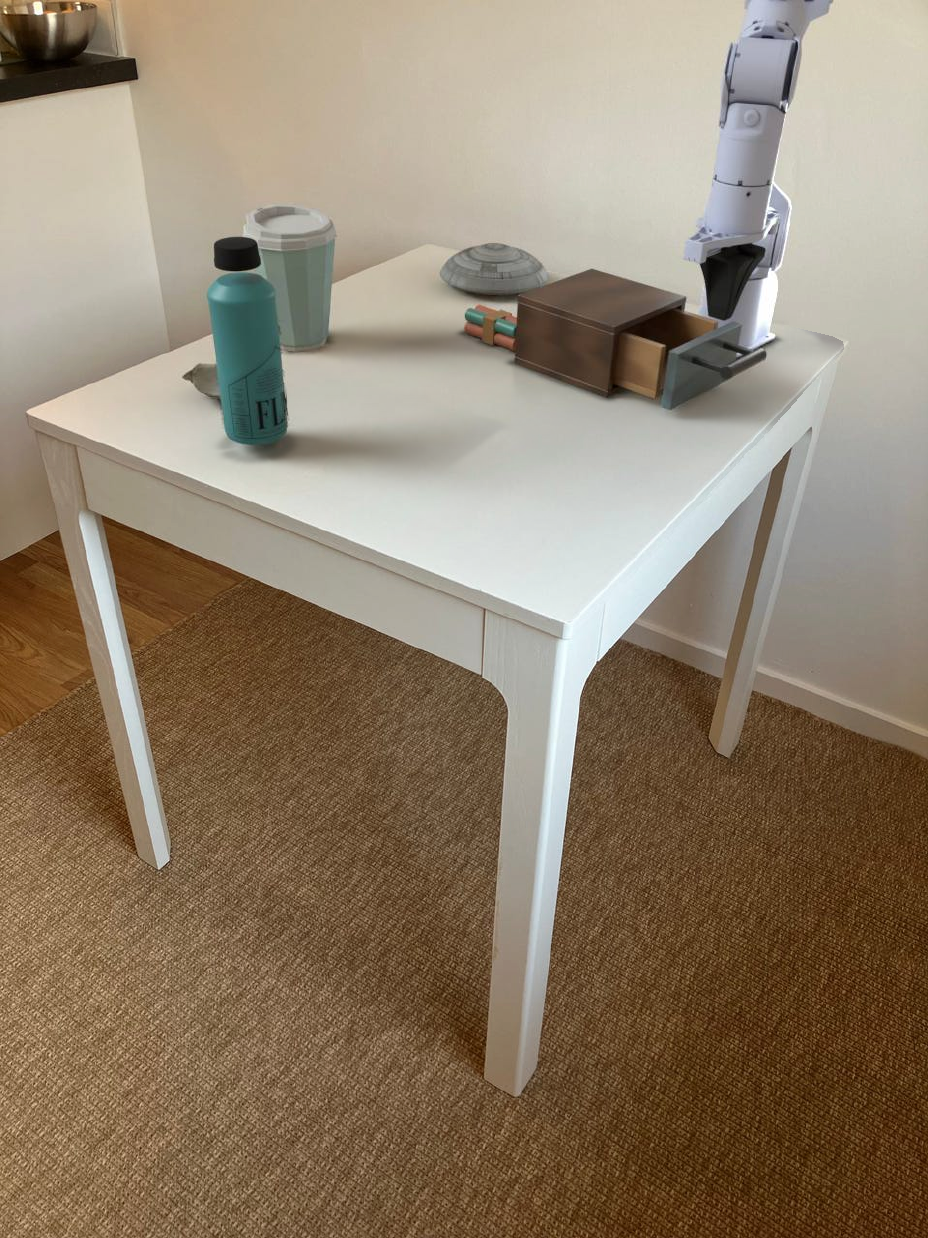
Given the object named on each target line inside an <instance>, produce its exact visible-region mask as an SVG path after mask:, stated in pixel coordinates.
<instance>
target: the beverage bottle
mask: <svg viewBox="0 0 928 1238" xmlns="http://www.w3.org/2000/svg"><path fill="white" fill-rule="evenodd" d="M213 255H214V256H213V264H214V267H215V268H216V269H218V270H220V271H224V272H230V273H226V274H223V275H220V276H219V277H218V278H217V279H215V280H214V281H213V282H212V284H211V285H210V286H209V288H208V289H207V291H206V299H207V303H208V309H209V317H210V324H211V333H212V339H213V347H214V356H215V363H214V364H215V365H216V364H217V375H218V382H219V389H218V391H219V390H220V397H219V398H218V400H220V402H219V409H220V410H219V411H220V415H221V416H220V417H221V422H222V424H223V429H224V432H225V434H226V436H227V438H228V439H229V440H231V441H233V442H234V443H237V444H241V445H246V446H259V445H260V446H261V445H266V444H270V443H274V442H277V441H279V440H281V439H282V438H284V436H285V435H286V434H287V431H288V427H289V425H290V424H289V422H290V418H289V411H288V396H287V390H285V389H286V387H287V385H285V383H286V382H285V381H284V377H285V370H284V369H283V360H282V354H283V353H284V352H283V351H284V350H282V349H281V348H280V346H281V345H282V344H281V345H280V337H279V336H280V335H279V333H280V332H279V330H281V329H280V326H278V319H277V309H276V300H275V295H276V291H275V288H274V287H273V285H272V284H271V283H269V282H268V281H267V280H266V279H265V278H263V277H262V276H260V275H258V274H255V272H254V273H253V272H248V271H251V270H254V269H255V268H257V267H259V266H260V265H261V258H260V255H259V249H258V244H257V241H256V240H254V239H251V238H247V237H243V236H229V237H223V238H220V239H217V240H216V241H215V242H214V243H213ZM278 318H279V317H278ZM279 322H280V321H279ZM280 334H281V333H280ZM281 342H282V341H281ZM281 347H282V346H281ZM215 373H216V372H215ZM218 382H217V383H218ZM217 386H218V385H217ZM218 394H219V393H218ZM220 398H221V399H220Z"/></svg>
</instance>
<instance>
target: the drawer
mask: <svg viewBox="0 0 928 1238" xmlns="http://www.w3.org/2000/svg"><path fill="white" fill-rule="evenodd" d="M718 323H719V321H716V320H713V319H709V318H706V317H703V316H700V315H699V314H696V313H693V312H689V311H686V310H684V311H683V310H680V309H677V308H674V309H671V310H669V311H667V312H664V313H662V314H660V315H657V316H655V317H653V318H650V319H648V320H645V321H643V322H641V323H638V324H636V325H634V326H631V327H629V328H627V329H624V330H622V331H620V332H618V339H617V348H616V357H615V366H614V375H613V384H615V385H618V386H621V387H624V388H626V389H627V390H629V391H632V392H635V393H638V394H640V395H643V396H646V397H649V398H650V399H653V400H656V399H657V398H660V397H661V396H662V399H661V404H660V405H661V407H660V408H662V409H664V410H667V411H673V410H674V409H676V408H678V407H679V406H682V405H683V404H685V403H688V402H689V401H692V400H693V399H695V398H697V397H699V396H700V395H703V394H704V393H706V392H708V391H710V390H712V389H714V388H715V387H718V386H720V385H721V384H723V383H725V382H727V381H729V380H731V379H733V378H734V377H735V376H737V375H739V374H741V373H743V372H745V371H746V370H749V369H750V368H752V367H754V366H756V365H758V364H759V363H762V362H764V361H765V360H766V359H767V357H768V356H767V351H766V350H765V349H764V348H762V347H757V348H755V349H753V350H751V349H748V348H744V347H741V346H738V344H739V338H740V333H741V327H742V324H741V323H737V322H734V321H732V322H730V323H728V324H726V325H724V326H722V327H719V328H718ZM737 353H740V354H743V355H741V356H740V357H738V358H736V355H737ZM626 389H625V390H626Z"/></svg>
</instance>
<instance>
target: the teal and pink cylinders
mask: <svg viewBox="0 0 928 1238" xmlns="http://www.w3.org/2000/svg"><path fill="white" fill-rule="evenodd" d="M464 319H465V321H467V322H465V324H464V328H463V329H464V333H466V334H468V335H470V336H473V337H475V338H479V339H481V341H482V343H485V344H488V345H490V346H496V345H497V346H500V347H502V348H505V349H508V350H510V351H513V352H515V345H516V325H517V316H513V313H512V312H509V311H506V310H503V309H499V310H497V309H494V308H491V307H487V306H485V305H482V304H477V305H476V306H474V308H472V307H469V308H467V309H466V310H465V312H464Z"/></svg>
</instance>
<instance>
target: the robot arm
mask: <svg viewBox="0 0 928 1238" xmlns="http://www.w3.org/2000/svg"><path fill="white" fill-rule="evenodd" d="M833 3H834V0H744V10H745V14H744V17H743V21H742V25H741V27H740V31H739V35H738V38H737V42H736V43H733V42H730V43H729V45H728V48H727V52H726V54H725V59H724V62H723V63H724V64H723V70H722V74H721V75H722V76H721V84H720V112H719V118H718V127H720V132H719V135H718V140H717V141H718V142H717V148H716V154H715V155H716V156H715V162H714V166H713V167H714V168H713V175H712V181H711V186H710V187H711V188H710V193H709V196H708V197H707V199H706V204H705V209H704V212H703V214H702V217H699V218H697V219H696V222H695V227H696V228H698V230H696V232H695V233H694V234H693V235H692V236H690V237H688V238H686V239H685V245H684V250H683V251H684V252H683V258H682V259H683V260H685V261H688V262H692V263H696V264H699V266H700V269H701V274H702V276H703V288H702V294H701V300H700V307H699V314H698V315H700V316H703V317H706V318H709V319H713V320H716V321H719V323H718V328H719V327H722V326H724V325H726V324H728V323H730V322H732V321H734V322H737V323H741V324H742V327H741V333H740V338H739V344H738V346H741V347H744V348H748V349H751V350H756V349H758V348H760V347H761V346H763V345H765V344H766V343H769V342H770V341H773V340H774V339H775V338H776V335H775V334H774V333H772V332H770V329H771V324H772V320H773V316H774V309H775V304H776V300H777V295H778V290H779V289H778V288H779V284H778V283H779V282H778V277H777V274H776V273H775V272H777V270H778V269H780V268H781V267H782V264H783V263H782V262H783V258H784V254H785V249H786V244H787V238H788V234H789V228H790V223H791V220H790V218H791V213H792V207H793V206H792V204H791V199H790V198H789V197H788V196H787V194H785V192H784V191H783V190H781V189H780V187H779V186H778V185H777V184H776V183H775V182H774V179H775V174H776V168H777V163H778V157H779V151H780V147H781V142H782V136H783V132H784V127H785V126H784V125H785V121H786V116H787V111H789V110H790V108H791V105H792V103H793V101H794V97H795V93H796V88H797V83H798V78H799V74H800V69H801V62H802V56H803V47H802V45H803V44H802V43H803V42H802V41H803V39H804V36H805V34H806V33H807V30H808V28H809V25H810V24H811V22H812V21H815V20H817V19H819V18H821V17H823V16H825V15H827V14H828V13H829V11H830V7H831V4H833ZM742 356H744V355H743V354H740V353H737V355H736V359H738V358H740V357H742Z"/></svg>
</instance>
